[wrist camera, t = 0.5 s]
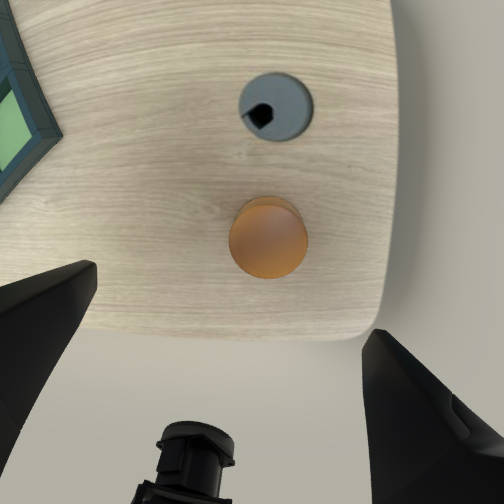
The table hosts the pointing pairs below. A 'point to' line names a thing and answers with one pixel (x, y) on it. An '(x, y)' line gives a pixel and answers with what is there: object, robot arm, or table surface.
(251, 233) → the cylinder
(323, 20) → the table surface
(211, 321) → the table surface
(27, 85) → the grid
